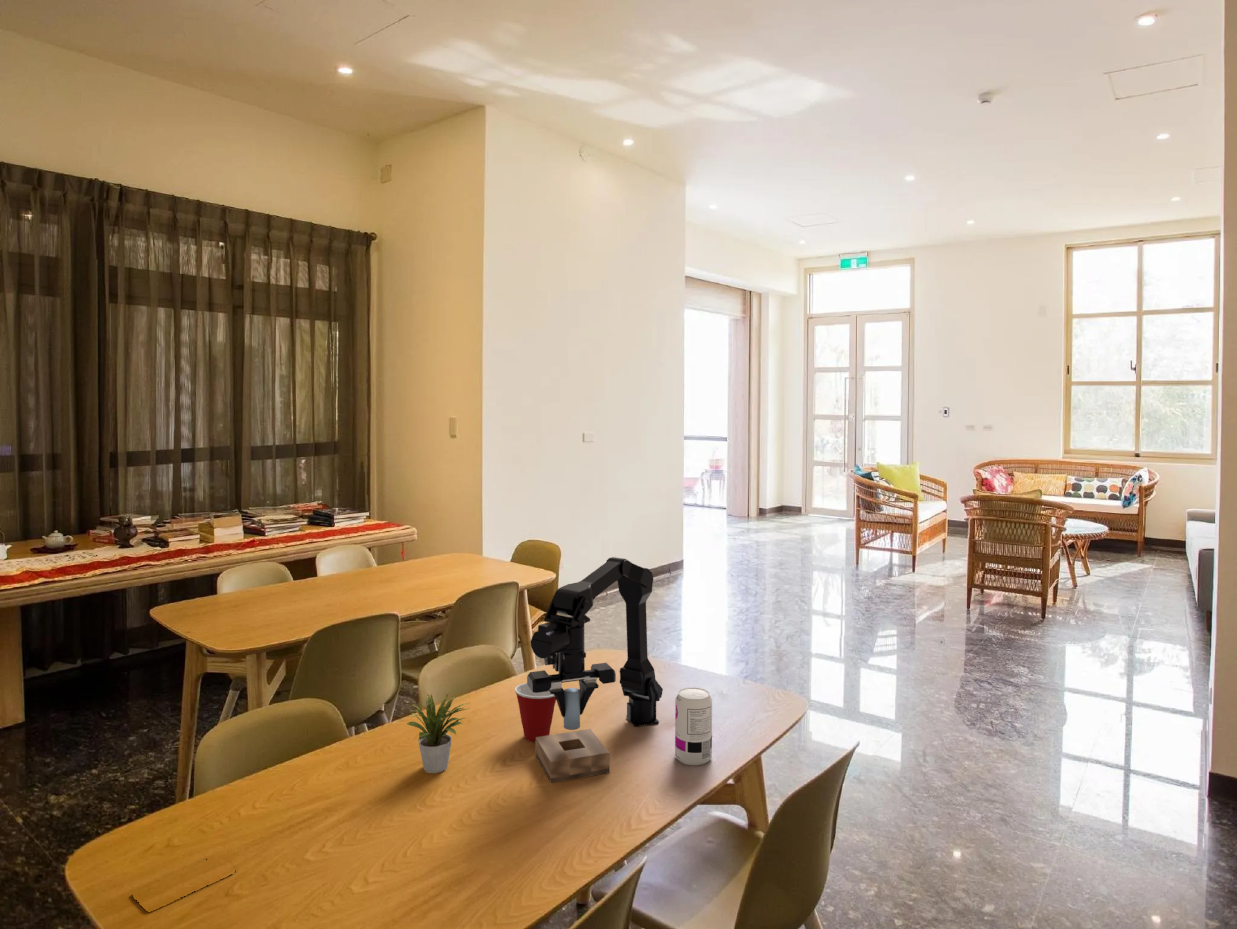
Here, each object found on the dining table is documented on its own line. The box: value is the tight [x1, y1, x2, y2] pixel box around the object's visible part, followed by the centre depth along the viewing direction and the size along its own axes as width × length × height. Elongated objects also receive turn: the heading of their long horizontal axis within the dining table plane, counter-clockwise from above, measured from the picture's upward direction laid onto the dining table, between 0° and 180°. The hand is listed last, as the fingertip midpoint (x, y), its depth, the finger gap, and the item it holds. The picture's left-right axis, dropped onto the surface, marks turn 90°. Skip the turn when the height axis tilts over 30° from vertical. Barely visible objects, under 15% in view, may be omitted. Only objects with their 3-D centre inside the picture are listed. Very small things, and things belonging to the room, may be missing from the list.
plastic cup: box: [514, 682, 557, 743], centre depth 185 cm, size 11×11×12 cm
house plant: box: [406, 693, 470, 774], centre depth 168 cm, size 14×14×16 cm
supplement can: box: [674, 687, 713, 766], centre depth 174 cm, size 8×8×15 cm
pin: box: [563, 687, 581, 731], centre depth 170 cm, size 4×4×8 cm
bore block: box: [535, 728, 610, 784], centre depth 171 cm, size 13×13×4 cm
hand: (571, 715), depth 170 cm, fingers closed on pin, 4 cm apart
